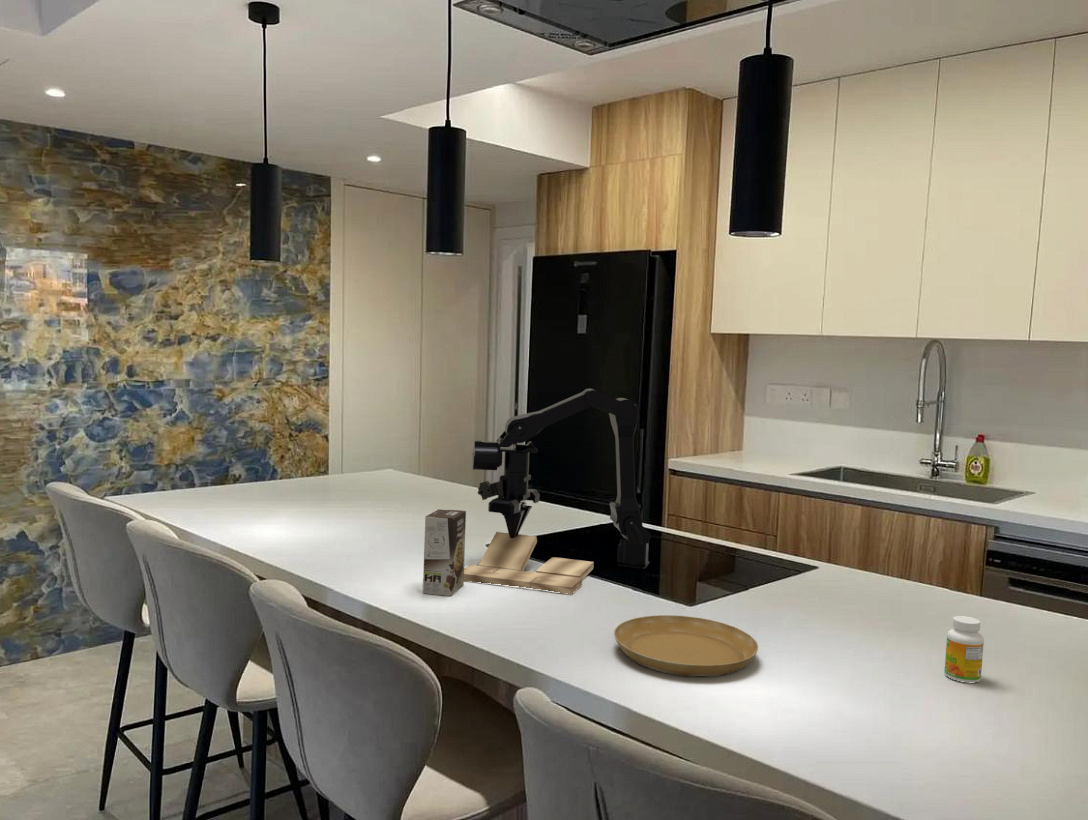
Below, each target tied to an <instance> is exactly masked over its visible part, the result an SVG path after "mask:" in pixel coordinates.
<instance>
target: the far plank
mask: <svg viewBox="0 0 1088 820" xmlns="http://www.w3.org/2000/svg"><path fill="white" fill-rule="evenodd" d="M537 543H538V538H537V536H536V535H529V534H521V533H520V534H519V533H518V535H517V537H515V538H510V537H509V533H508V532H502V531H496V532H495V534H494V535H493V537H492V539H491V541H490V543H489V544H488V546H487V549H486V550H485V552H484V553H483V555H482V558H481V560H480V561H479V563H478V565H479V566H487V567H495V568H503V569H512V570H520V571H525V568H526V566H527V564H528V561H529V559H530V558H531V555H532V553H533V551H534V549H535V547H536V545H537Z"/></svg>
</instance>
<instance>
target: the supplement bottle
mask: <svg viewBox="0 0 1088 820" xmlns="http://www.w3.org/2000/svg"><path fill="white" fill-rule="evenodd" d="M952 627H953V628H951V629H949V630H948V632H947V634H946V646H945V647H946V648H945V659H944V670H943V671H944V672H943V673H944V675H945V677H947V676H948V677H950V678H952V679H955V680H959V681H964V682H977V683H979V682H980V681H981V680H982V670H983V669H982V667H983V659H984V644H985V643H984V641H985V640H984V637H983V635H982V634H981V633H979V632H980V629H981V621H980V620H979V619H977V618H975V617H971V616H964V615H956V616H953V618H952ZM948 677H947V678H948ZM950 678H949V679H950ZM952 679H951V680H952ZM978 681H979V682H978Z"/></svg>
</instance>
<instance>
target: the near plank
mask: <svg viewBox="0 0 1088 820" xmlns="http://www.w3.org/2000/svg"><path fill="white" fill-rule="evenodd" d="M594 565H595V564H594V561H588V560H582V559H581V560H580V559H570V558H565V557H564V558H563V557H556V556H555V557H554V556H553V557H552V556H551V558H550V559H548V560H547V561H546V562H545V563H543V564H542V565H541V566H540V567H539V568H537V569H536V570H535V572H536V573H544V574H552V575H560V576H568V577H577V578H582V581H583V580H584V579H585V578H586V577H587V576H588V575H589V574H590V573H591V572H592V571H593V569H594Z"/></svg>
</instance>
